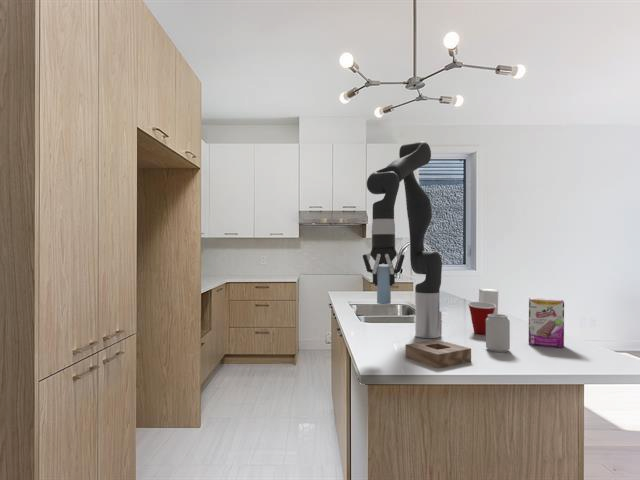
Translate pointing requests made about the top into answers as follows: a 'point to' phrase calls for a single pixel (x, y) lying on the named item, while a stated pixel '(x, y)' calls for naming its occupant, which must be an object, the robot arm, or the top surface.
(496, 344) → the can
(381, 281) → the peg
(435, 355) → the socket block
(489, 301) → the skincare box
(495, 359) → the top surface
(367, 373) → the top surface
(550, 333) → the candy bar box
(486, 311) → the plastic cup
